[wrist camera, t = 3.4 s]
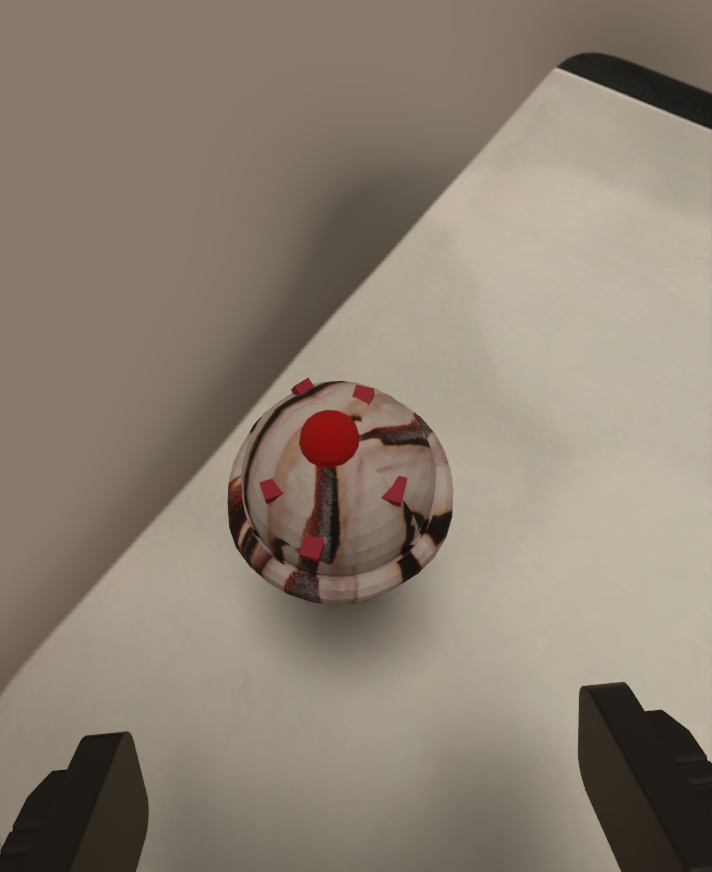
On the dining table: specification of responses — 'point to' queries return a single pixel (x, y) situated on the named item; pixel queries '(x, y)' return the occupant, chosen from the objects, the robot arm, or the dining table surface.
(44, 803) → the robot arm
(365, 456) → the ice cream cone
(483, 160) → the dining table surface
